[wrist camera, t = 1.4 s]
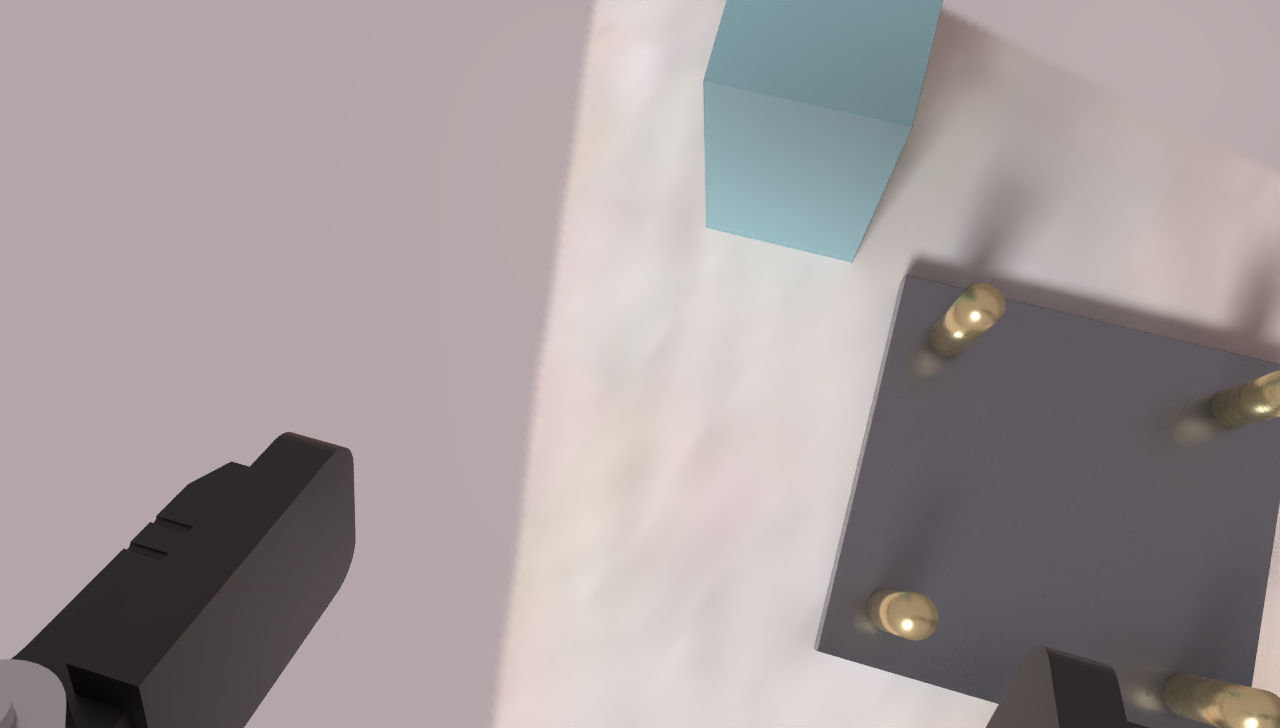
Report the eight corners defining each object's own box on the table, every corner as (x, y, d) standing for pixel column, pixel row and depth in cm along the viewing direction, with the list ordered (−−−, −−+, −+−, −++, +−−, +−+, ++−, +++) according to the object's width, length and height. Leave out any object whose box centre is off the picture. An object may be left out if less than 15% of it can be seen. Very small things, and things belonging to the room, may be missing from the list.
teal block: (885, 127, 33) (957, -60, 23) (852, 262, 32) (912, 126, 22) (743, 95, 34) (755, -100, 24) (706, 227, 33) (703, 81, 23)
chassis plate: (1281, 375, 30) (1390, 338, 25) (1219, 766, 28) (1326, 808, 23) (900, 284, 32) (934, 232, 27) (814, 648, 29) (834, 663, 25)
